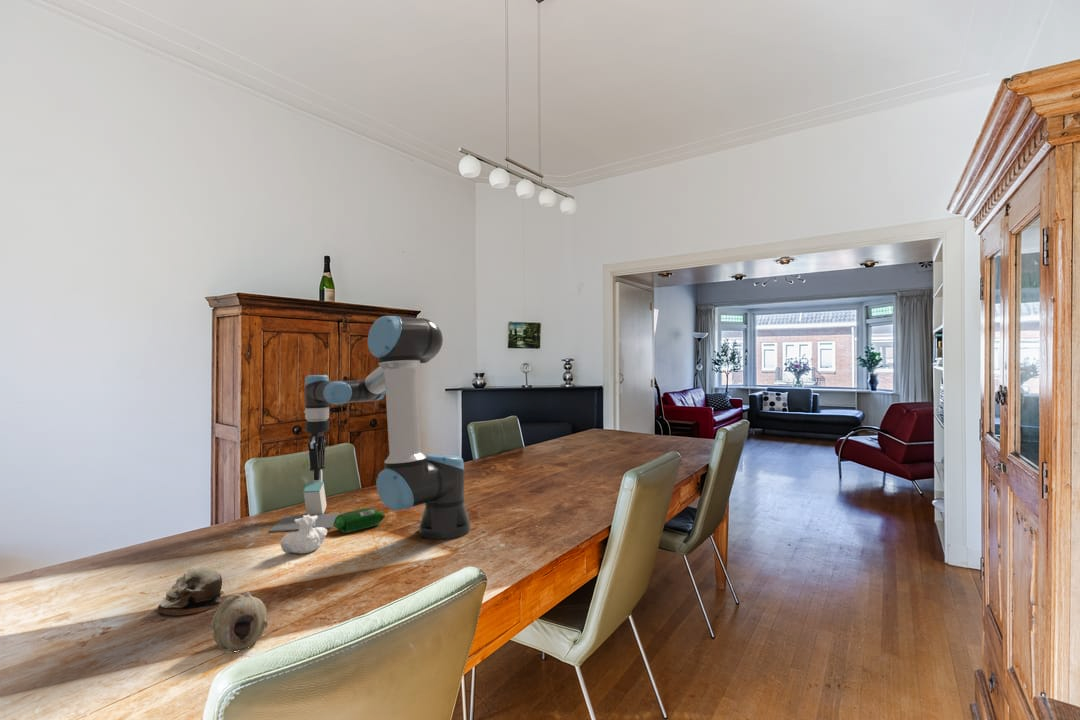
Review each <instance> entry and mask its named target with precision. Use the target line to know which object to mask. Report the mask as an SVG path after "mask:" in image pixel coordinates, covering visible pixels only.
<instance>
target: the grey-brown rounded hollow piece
mask: <svg viewBox="0 0 1080 720" xmlns="http://www.w3.org/2000/svg"><path fill="white" fill-rule="evenodd" d="M219 605H220V606H219V607H218V608H217V610H216V612H215V613H214V615H213V617H212V620H211V626H212V630H213V634H212V638H213V641H214V642H215V643H216V644H217V645H216V646H217V647H218V649H220V650H222V651H223V652H224V653H226V654H232V653H231V652H234V651H238V650H240V651H242V650H241V649H243V650H245V649H244V648H246V649H249V648H251V647H252V646H253V644H254V643H255V642H256V641H258V640H259V639H260V638H261V637H262V636H263V633H264V631H265V629H266V628H267V627H268V626H269V623H270V621H268V619H269V618H268V609H267V607H266V605H265V604H264V601H263V600H261V598H258V597H255V596H253V595H252V593H251V592H250V591H247V592H245V593H243V594H239V593H234V594H232V595H231V596H229V597H228V598H226V599H225V600H224V601H223V602H221V604H219ZM250 646H251V647H250ZM248 647H249V648H248ZM238 652H239V651H238Z"/></svg>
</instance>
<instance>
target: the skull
mask: <svg viewBox="0 0 1080 720" xmlns="http://www.w3.org/2000/svg"><path fill="white" fill-rule="evenodd" d="M222 588H223V577H222V574H221V573H220V572H219V571H217V570H216V569H214V568H212V567H210V566H208V565H204V564H203V565H202V564H201V565H199V564H198V565H195V566H192V567H191V568H188V569H187V570H185V571H184V572H183V576H181V577H178V578H177V579H176V580H175V583H174V584H173V585H172V586H171V588H169V589H168V590H167V592H166V594H165V597H164V599H163V600H162V601H161V602H160V603H159V605H158V606H157V611H158V612H159V613H161V614H164V615H168V616H172V617H174V616H184V615H192V614H198V613H202V612H205V611H207V610H210V609H213V608H215V607H218V606H219V605H221V604H222V603H223V602H222V600H221V602H220V601H219V599H221V598H222V597H221V596H222V595H225V593H226V592H225V591H223V590H222Z"/></svg>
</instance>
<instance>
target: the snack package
mask: <svg viewBox="0 0 1080 720" xmlns="http://www.w3.org/2000/svg"><path fill="white" fill-rule="evenodd" d="M342 513H343V514H340V515H338V516H337V517H336V518H335V521H334V526H333V527H334V528H336V529H337V531H341V532H342V533H344V534H349V533H350V532H351V533H354V532H358V531H362V530H365V529H369V528H372V527H376V526H378V525H380V524H381V522H382V521H383V520H384V519H385V516H386V515H385V514H384V513H382V511H379V510H377V509H375V508H373V507H365V508H362V509H357V510H353V511H352V510H351V511H348V512H342Z"/></svg>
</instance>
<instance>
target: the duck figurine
mask: <svg viewBox="0 0 1080 720" xmlns="http://www.w3.org/2000/svg"><path fill="white" fill-rule="evenodd" d="M302 515H303V518H299V519H295V520H294V521H295V522H296V523H298V524H300V527H299V529H300V530H299V531H292V532H290V533H287V534H285V535H284V536H282V537H281V539H280V543H279V544H280V548H281V550H282V552H284V553H286V554H287V553H288V554H289V553H294V554H300V555H302V554H308V553H311V552H313V551H316V549H318V548H319V547H320V546H321V545H322V544H323V543H324V541H325V538H326V537H327V535H328V529H325V528H323V527H316V528H312V526H315V520H316V519H317V517H318V516H317V515H315V516H310V515H309V514H308V515H307V514H302Z"/></svg>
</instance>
